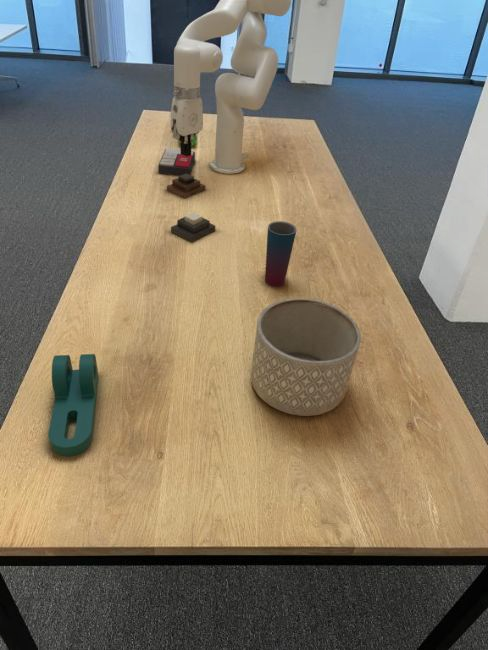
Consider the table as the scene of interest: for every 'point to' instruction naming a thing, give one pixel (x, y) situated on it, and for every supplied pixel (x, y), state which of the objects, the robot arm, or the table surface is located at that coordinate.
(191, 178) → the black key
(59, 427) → the bracket
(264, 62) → the robot arm
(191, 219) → the ivory key
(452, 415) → the table surface
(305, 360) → the planter
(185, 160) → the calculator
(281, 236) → the cup
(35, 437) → the table surface
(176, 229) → the block
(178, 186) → the walnut key block
